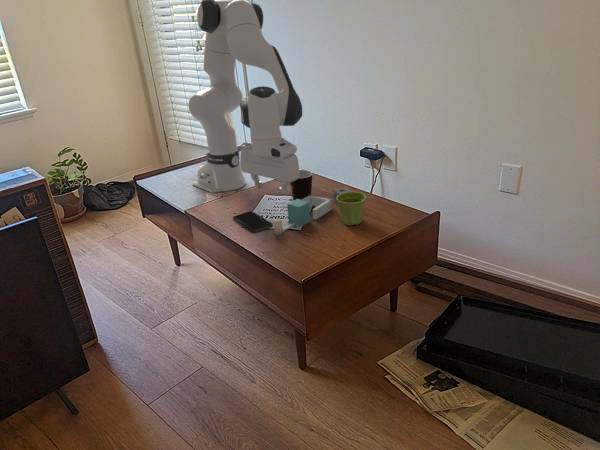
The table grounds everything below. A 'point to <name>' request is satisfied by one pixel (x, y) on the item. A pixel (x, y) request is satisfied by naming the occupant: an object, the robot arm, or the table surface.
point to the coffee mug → (302, 185)
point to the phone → (252, 222)
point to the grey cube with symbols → (340, 191)
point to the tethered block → (294, 216)
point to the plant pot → (351, 207)
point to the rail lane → (319, 205)
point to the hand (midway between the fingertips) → (270, 190)
